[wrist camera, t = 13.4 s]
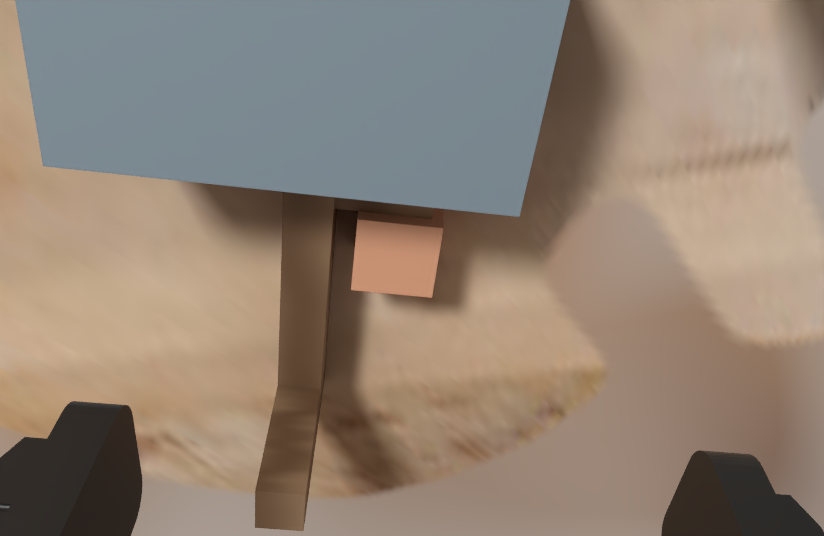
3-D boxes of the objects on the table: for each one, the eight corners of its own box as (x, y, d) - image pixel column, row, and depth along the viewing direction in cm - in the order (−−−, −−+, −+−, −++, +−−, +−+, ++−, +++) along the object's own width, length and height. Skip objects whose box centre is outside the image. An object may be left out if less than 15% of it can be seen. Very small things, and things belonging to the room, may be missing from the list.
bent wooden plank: (434, 162, 41) (442, 286, 31) (400, 387, 51) (398, 538, 41) (294, 147, 41) (257, 268, 31) (285, 377, 50) (255, 527, 40)
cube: (440, 188, 42) (443, 228, 39) (429, 253, 45) (431, 297, 41) (361, 179, 42) (357, 219, 38) (355, 246, 45) (350, 289, 41)
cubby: (545, -116, 34) (588, -79, 26) (496, 126, 40) (519, 217, 32) (94, -179, 32) (-12, -162, 24) (119, 83, 39) (43, 166, 31)
